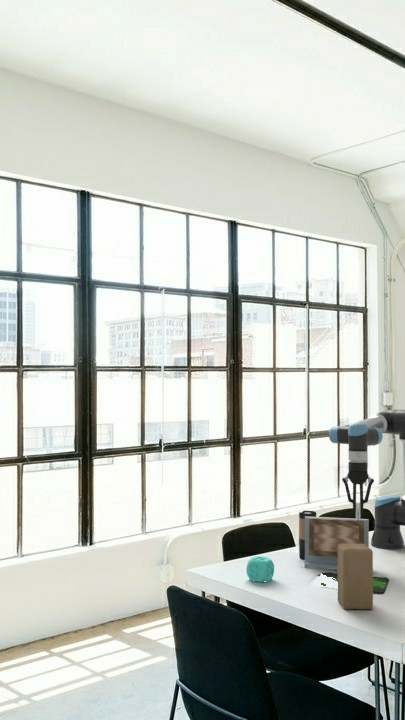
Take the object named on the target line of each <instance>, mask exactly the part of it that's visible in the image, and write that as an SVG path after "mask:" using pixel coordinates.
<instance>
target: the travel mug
mask: <svg viewBox="0 0 405 720" xmlns="http://www.w3.org/2000/svg"><path fill="white" fill-rule="evenodd" d="M305 516H306V517H317V511H314V510H303V511H301V512H300V511H298V548H299V549H298V550H299V551H298V552H299V553H298V554H299V555H298V556H299V559H300V560H303V561H305Z"/></svg>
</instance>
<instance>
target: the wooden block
mask: <svg viewBox="0 0 405 720" xmlns="http://www.w3.org/2000/svg"><path fill="white" fill-rule="evenodd" d="M373 554H374V552H373V550H372V549H371V547H368V546H366V545H365V544H339V545H338V569H337V573H338V590H337V602H339V604H340V605H341V607H342V608H343V609H344V610H346V609H370V610H373V608H374V593H373V577H374V574H373V573H374V571H373V570H374V565H373V564H374V559H373V558H374V555H373Z"/></svg>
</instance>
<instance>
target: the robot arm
mask: <svg viewBox="0 0 405 720" xmlns="http://www.w3.org/2000/svg"><path fill="white" fill-rule="evenodd" d="M383 434H386V435H387V434H390V435H398V437H399V440H400V441H401V442H402V455H403V456H402V457H403V484H404V485H403V489H404V494H403V495H402V496H401V497H400V495H386V496H379V497H376V498H375V500H374V507H373V508H374V530H373V533H372V537H371V538H370V546H372V547H374V548H379V549H387V550H397V549H404V548H405V541H404V538H403V534H402V531H401V526H404V527H405V409H395V408H394V409H388V410H384V411H380V412H377V413H373V414H372V415H370V417H368V418H364V419H361V420H358V421H355V422H353V423H350V424H346V425H345V424H344V425H342V426H341V425H340V426H339V425H333V426H331V428H329V432H328V439H329V440H330V442H331V443H333V444H338V445H348V450H347V451H348V472H347V475H346V476H344V477H342V478H341V480H342V481H341V482H343V484H344V487H345V491H346V495H347V500H348V502H349V503H352V512H355V519H356V520H359V521H360V519H361V513H363V512H364V505H365V504H366V503H368V501H369V498H370V494H371V489H372V485H373V484H374V482H375V479H374V478H372V477H371V476H370V475H369V473H368V446H373V447H374V446H377V445H380V444H381V443H382V441H383V438H384V437H383ZM349 481H350V482H351V484H352V496H351V491H350V487H349V483H348V482H349ZM366 482H368V484H367V488H366V491H365V497H364V484H365V483H366ZM357 485H359V502H358V503H357Z"/></svg>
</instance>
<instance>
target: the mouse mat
mask: <svg viewBox="0 0 405 720" xmlns="http://www.w3.org/2000/svg"><path fill="white" fill-rule="evenodd" d="M321 573H322V574H323V575H326V576H327V577H333V578H335V579H336V580H335V579H333V578H332V579H333V580H335V581H337V582H338V572H327V571H325V572H321ZM389 581H390V579H389V577H387V576H386V577H383V576H373V594H374V593H375V594H381V595H382V594H384V593H385V591H386V589H387V586H388V584H389ZM321 585H323V586H326V584H324V583H321Z"/></svg>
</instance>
